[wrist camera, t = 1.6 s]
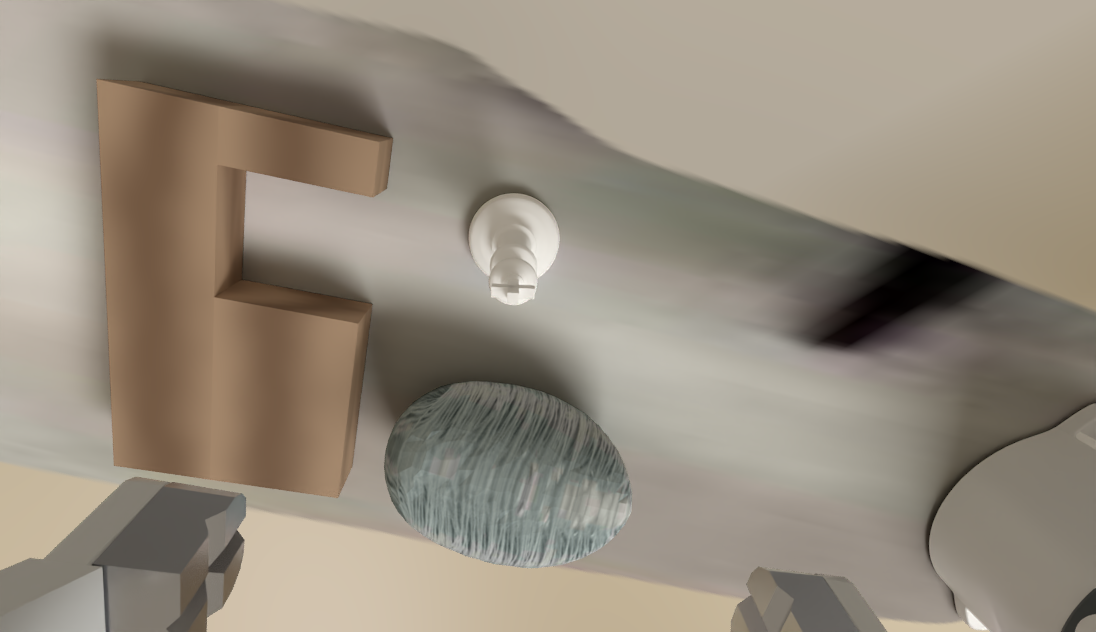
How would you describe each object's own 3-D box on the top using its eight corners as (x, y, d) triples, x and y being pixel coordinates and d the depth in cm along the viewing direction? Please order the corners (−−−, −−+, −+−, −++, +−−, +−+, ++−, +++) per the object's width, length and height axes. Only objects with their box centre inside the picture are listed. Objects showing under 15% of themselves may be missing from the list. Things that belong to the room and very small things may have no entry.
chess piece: (469, 190, 30) (447, 230, 20) (562, 196, 30) (583, 237, 21) (467, 280, 31) (446, 355, 22) (556, 284, 32) (572, 360, 22)
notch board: (393, 138, 28) (379, 142, 26) (352, 466, 35) (337, 497, 32) (140, 81, 27) (96, 79, 24) (147, 435, 34) (113, 465, 31)
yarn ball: (345, 508, 32) (376, 581, 23) (399, 349, 34) (447, 360, 25) (547, 543, 38) (634, 613, 29) (586, 406, 39) (680, 432, 31)
